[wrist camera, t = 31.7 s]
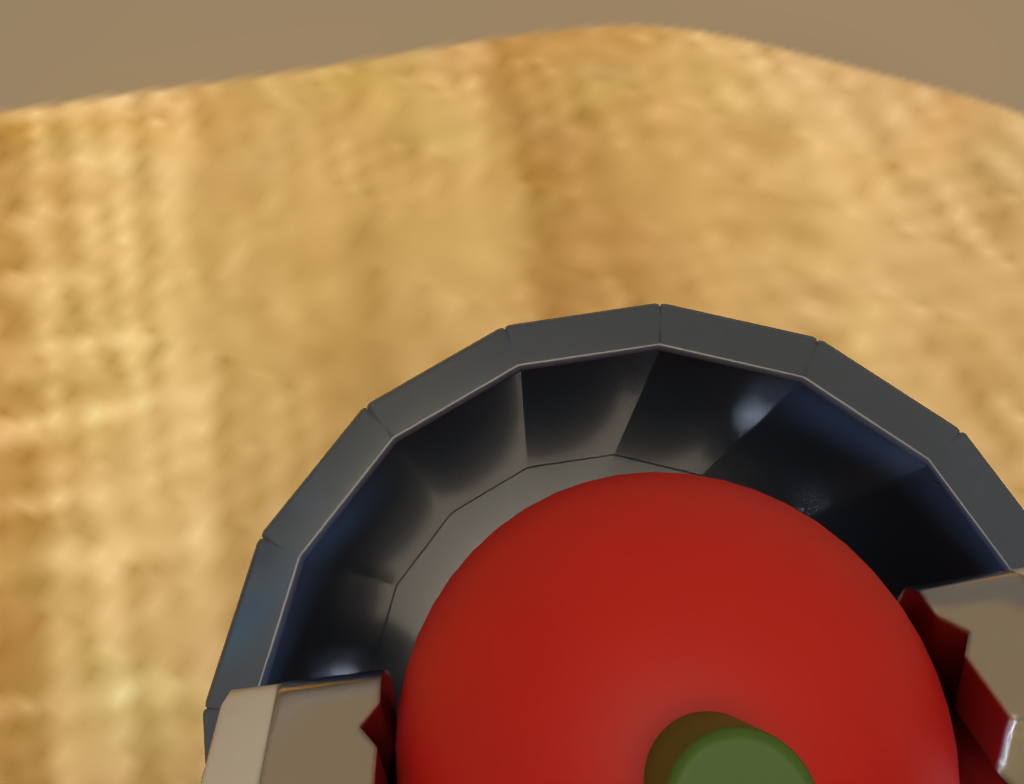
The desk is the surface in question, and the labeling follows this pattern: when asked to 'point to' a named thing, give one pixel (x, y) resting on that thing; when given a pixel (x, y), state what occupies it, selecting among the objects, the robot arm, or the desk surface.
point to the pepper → (669, 651)
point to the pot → (597, 474)
